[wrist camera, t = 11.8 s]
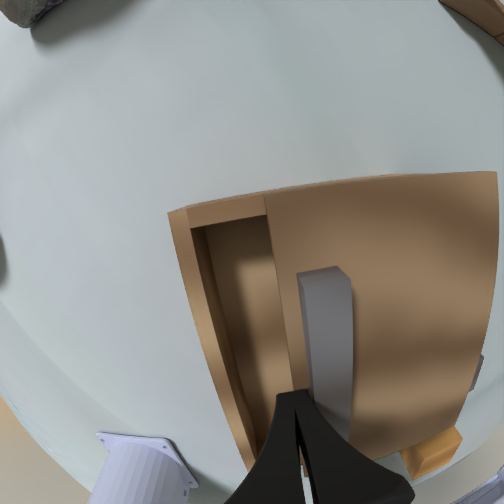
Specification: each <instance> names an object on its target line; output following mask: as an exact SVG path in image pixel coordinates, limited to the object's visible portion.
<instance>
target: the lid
mask: <svg viewBox="0 0 504 504" xmlns="http://www.w3.org/2000/svg"><path fill="white" fill-rule="evenodd" d="M263 198H264V203H265V209H266V215H267V221H268V227H269V233H270V239H271V245H272V251H273V257H274V263H275V269H276V276H277V282H278V288H279V295H280V301H281V308H282V314H283V321H284V328H285V334H286V341H287V348H288V355H289V362H290V369H291V377H292V384H293V391H295V390H300V389H306V390H307V392H308V394H309V396H310V398H311V400H312V401H313V403H314V404H315V406H316V407H317V409H318V410H319V412H320V413H321V414H322V415H323V417H324V418H325V419H326V420H327V422H328V423H329V424H330V425H331V426H332V427H333V428H334V430H335V431H336V432H337V433H338V434H339V435H340V436H341V437H342V438H343V439H345V440H346V441H347V442H348V443H349V444H350V445H351V446H353V447H354V448H355V449H356V450H358V451H359V452H360V453H362V454H363V455H365V456H366V457H368V458H369V459H371V460H372V461H373V460H376V459H379V458H382V457H385V456H387V455H390V454H393V453H395V452H398V451H401V450H403V449H406V448H408V447H411V446H413V445H415V444H418V443H420V442H422V441H424V440H427V439H429V438H431V437H433V436H435V435H437V434H439V433H441V432H443V431H445V430H447V429H449V428H451V427H453V426H454V425H455V423H456V421H457V419H458V416H459V414H460V412H461V409H462V407H463V404H464V402H465V399H466V397H467V394H468V392H470V391H472V390H473V389H474V386H475V384H476V381H477V378H478V375H479V372H480V369H481V366H482V363H483V360H484V356H483V355H481V351H482V347H483V344H484V340H485V336H486V331H487V327H488V322H489V317H490V312H491V307H492V301H493V295H494V288H495V280H496V271H497V260H498V244H499V197H498V182H497V172H492V171H476V172H455V173H438V174H424V175H412V176H400V177H390V178H380V179H370V180H362V181H353V182H345V183H337V184H329V185H322V186H315V187H308V188H301V189H294V190H288V191H282V192H275V193H269V194H263ZM301 455H302V452H301ZM302 463H303V470H304V476H305V477H309V476H308V473H307V469H306V466H305V462H304V459H303V455H302Z"/></svg>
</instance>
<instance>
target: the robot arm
mask: <svg viewBox="0 0 504 504" xmlns="http://www.w3.org/2000/svg"><path fill="white" fill-rule="evenodd" d="M96 436H97V438H98V439H99V440H100V442H101V443H102V444H103V445H104V447H105V448H106V449H107V450H108V452H109V454H108V456H107V459H106V461H105V463H104V465H103V468H102V470H101V472H100V475H99V477H98V479H97V482H96V484H95V486H94V489H93V491H92V493H91V496H90V498H89V501H88V503H87V504H187V503H188V497H189V491H190V488H198V487H199V484H198V483H197V481H196V480H195V479H194V477H193V476H192V475H191V473H190V472H189V470H188V469H187V468H186V466H185V465H184V463H183V462H182V460H181V459H180V457H179V456H178V454H177V453H176V451H175V450H174V448H173V446H172V445H171V443H170V442H169V441H168V440H167V439H164V438H148V437H136V436H126V435H117V434H109V433H102V432H98V433H97V434H96ZM300 448H301V452H302V455H303V459H304V462H305V466H306V469H307V473H308V476H309V481H310V486H311V492H312V498H313V504H411V502H412V501H413V499H414V497H415V493H414V491H413V489H412V487H411V486H410V484H409V483H408V481H407V480H406V479H405V478H404V477H403V476H401V475H399V474H397V473H394V472H392V471H390V470H388V469H386V468H384V467H383V466H381V465H379V464H377V463H375V462H374V461H372V460H371V459H369V458H368V457H366V456H365V455H363V454H362V453H360V452H359V451H358V450H356V449H355V448H354V447H353V446H351V445H350V444H349V443H348V442H347V441H346V440H345V439H343V438H342V437H341V436H340V435H339V434H338V433H337V432H336V431H335V430H334V428H333V427H332V426H331V425H330V424H329V423H328V422H327V420H326V419H325V418H324V417H323V415H322V414H321V413H320V412H319V410H318V409H317V407H316V406H315V404H314V403H313V401H312V400H311V398H310V396H309V394H308V392H307V390H306V389H300V390H295V391H289V392H284V393H278V394H277V395H276V405H275V411H274V415H273V419H272V423H271V426H270V429H269V432H268V435H267V437H266V440H265V443H264V445H263V447H262V449H261V452H260V454H259V456H258V458H257V459H256V461H255V463H254V465H253V466H252V468H251V470H250V471H249V473H248V475H247V476H246V478H245V479H244V480H243V482H242V483H241V484H240V486H239V487H238V488H237V489H236V491H235V492H234V493H233V494H232V496H231V497H230V498H229V499H228V500H227V501H226V502H225V503H224V504H306V502H305V496H304V490H303V484H302V478H301V465H300ZM451 504H504V465H503V466H502V467H501V468H500V470H499V471H498V472H497V474H495V475H494V476H493V477H491V478H490V479H489V480H487V481H486V482H484V483H483V484H481V485H480V486H478V487H477V488H475V489H474V490H472V491H471V492H469V493H468V494H466V495H465V496H463V497H461V498H460V499H458V500H456V501H454V502H453V503H451Z"/></svg>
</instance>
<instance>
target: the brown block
mask: <svg viewBox="0 0 504 504" xmlns="http://www.w3.org/2000/svg"><path fill="white" fill-rule="evenodd" d="M462 440H463V438H462V436H461V435H460V434H459V432H458V431H457V429H456V428H455V426H453V427H451V428H449V429H447V430H445V431H443V432H441V433H439V434H437V435H435V436H433V437H431V438H429V439H427V440H424V441H422V442H420V443H418V444H415V445H413V446H411V447H408V448H406V449H403V450H401V451H399V452H400V454H401V456H402V458H403V460H404V463H405V465H406V467H407V469H408V471H409V473H410V475H411V478H412V480H414V479H416V478H418V477H421V476H423V475H425V474H427V473H429V472H431V471H433V470H435V469H437V468H439V467H441V466H443V465H445V464H447V463H449V462H450V460H451V459H452V457H453V455H454V454H455V452H456V450H457V449H458V447H459V445H460V443H461V442H462Z"/></svg>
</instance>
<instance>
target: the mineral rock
mask: <svg viewBox="0 0 504 504" xmlns="http://www.w3.org/2000/svg"><path fill="white" fill-rule="evenodd" d="M62 1H63V0H0V10H1V11H2V12H3V14H4V15H5V16H6V17H7V18H8V19H9V20H10V21H11V22H13V23H16V24H17V25H18V26H19V27H22V28H29V27H31V26H33V25H34V24H35V23H36V22H37V20H38V19H39V18H40V17H41V16H42V15H43V13H45V12H46V11H48V10H50V9H51V8H52V7H53V6H54V5H56V4H59V3H61V2H62Z"/></svg>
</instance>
